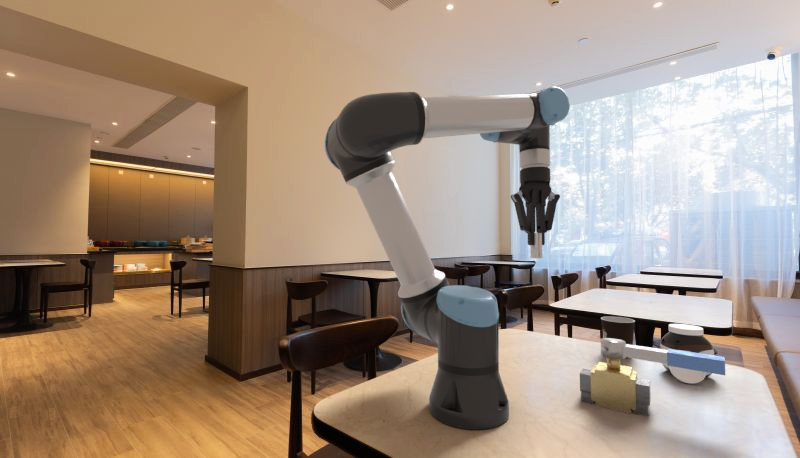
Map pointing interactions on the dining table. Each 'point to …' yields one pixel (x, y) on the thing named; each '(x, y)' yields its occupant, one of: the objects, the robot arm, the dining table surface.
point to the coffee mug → (618, 328)
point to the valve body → (615, 387)
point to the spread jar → (686, 349)
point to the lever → (663, 356)
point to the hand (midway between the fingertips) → (536, 257)
